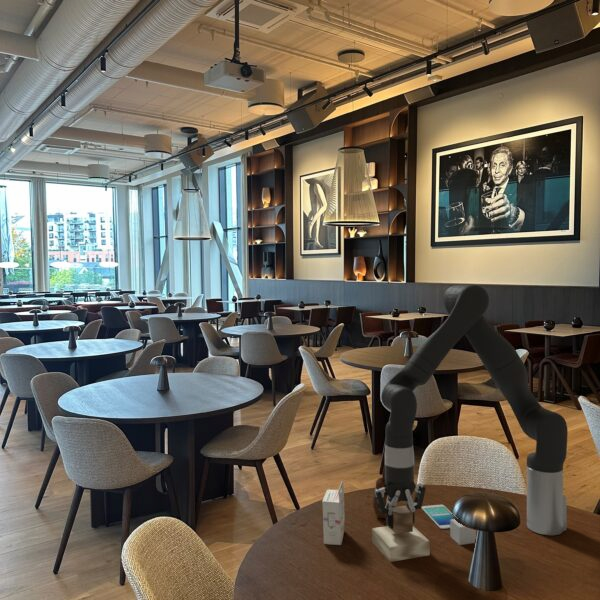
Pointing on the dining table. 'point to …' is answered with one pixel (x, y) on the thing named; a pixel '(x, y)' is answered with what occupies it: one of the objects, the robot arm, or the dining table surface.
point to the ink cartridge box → (333, 516)
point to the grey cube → (461, 533)
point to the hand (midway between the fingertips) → (400, 525)
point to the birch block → (400, 543)
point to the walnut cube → (402, 520)
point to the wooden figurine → (380, 484)
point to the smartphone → (439, 515)
